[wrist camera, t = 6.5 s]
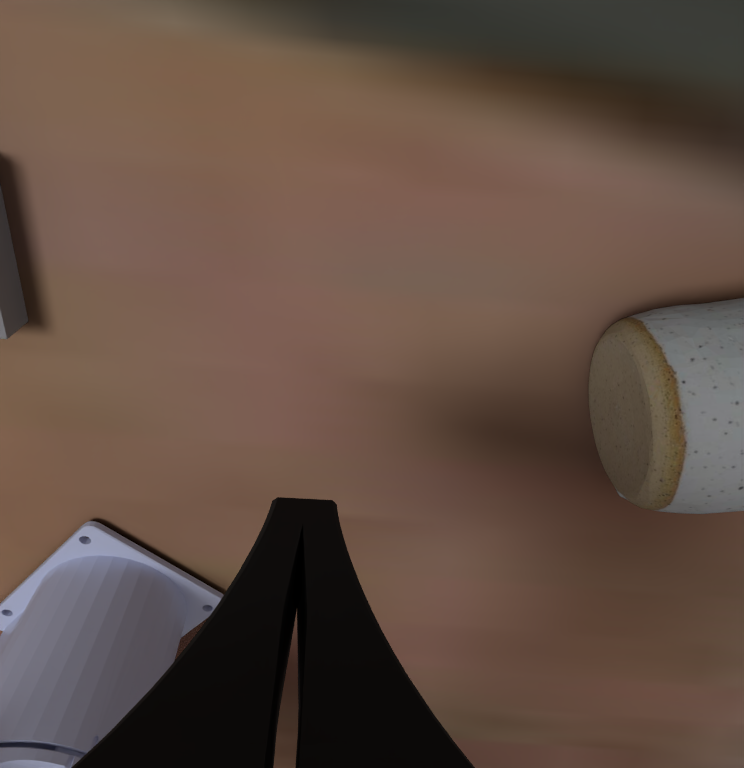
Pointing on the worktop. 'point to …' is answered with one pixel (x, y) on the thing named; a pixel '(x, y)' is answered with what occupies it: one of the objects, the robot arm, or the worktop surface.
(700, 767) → the worktop surface
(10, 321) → the tile
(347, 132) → the worktop surface
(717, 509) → the ceramic mug
